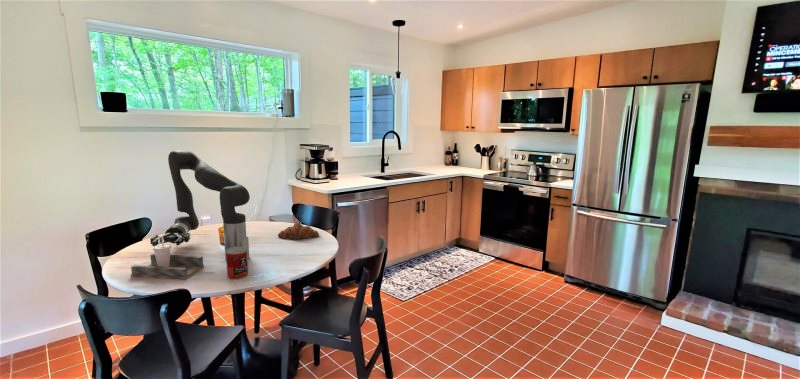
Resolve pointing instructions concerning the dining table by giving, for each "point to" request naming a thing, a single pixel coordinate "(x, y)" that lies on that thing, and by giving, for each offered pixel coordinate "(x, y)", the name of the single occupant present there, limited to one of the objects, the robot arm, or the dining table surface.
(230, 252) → the canned food
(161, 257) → the smoothie
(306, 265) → the dining table surface
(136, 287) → the dining table surface
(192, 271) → the door track
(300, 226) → the pastry
